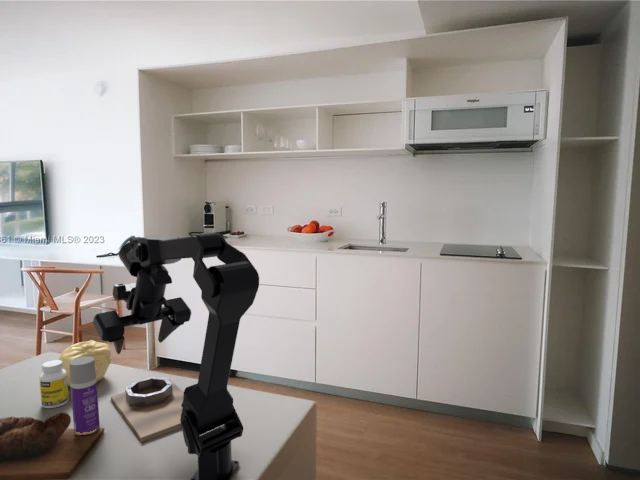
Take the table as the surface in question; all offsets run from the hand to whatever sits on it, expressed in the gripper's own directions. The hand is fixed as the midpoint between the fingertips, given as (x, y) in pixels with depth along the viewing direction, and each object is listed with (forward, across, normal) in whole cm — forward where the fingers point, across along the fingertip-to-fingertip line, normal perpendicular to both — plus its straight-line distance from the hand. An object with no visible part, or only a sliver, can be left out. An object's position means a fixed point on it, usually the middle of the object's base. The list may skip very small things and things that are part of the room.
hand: (139, 346), depth 94 cm
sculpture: (+25, +4, -16) cm, 30 cm away
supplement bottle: (+22, +13, -10) cm, 27 cm away
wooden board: (+13, -3, +8) cm, 15 cm away
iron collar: (+15, -3, +3) cm, 16 cm away
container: (+14, +11, +6) cm, 19 cm away
